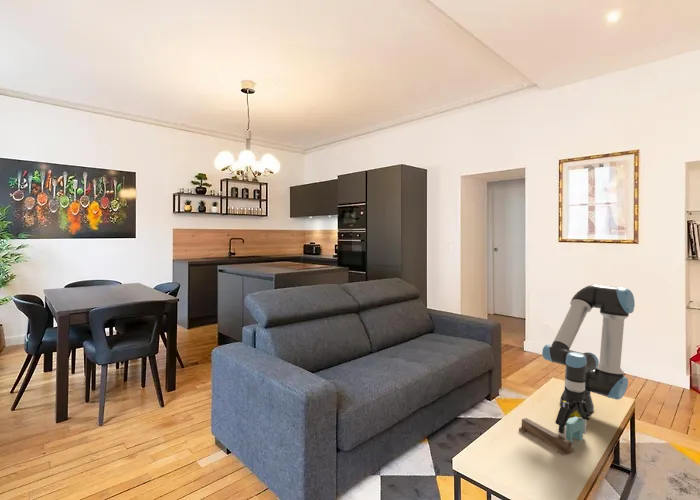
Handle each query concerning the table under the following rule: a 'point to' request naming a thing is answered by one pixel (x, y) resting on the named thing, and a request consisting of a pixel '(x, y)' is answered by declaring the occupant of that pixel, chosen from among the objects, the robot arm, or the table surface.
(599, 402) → the table surface
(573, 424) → the slotted block
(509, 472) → the table surface
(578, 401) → the robot arm
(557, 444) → the rail
